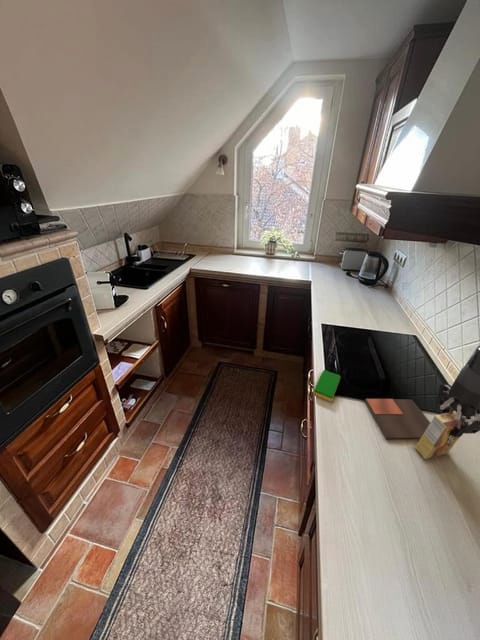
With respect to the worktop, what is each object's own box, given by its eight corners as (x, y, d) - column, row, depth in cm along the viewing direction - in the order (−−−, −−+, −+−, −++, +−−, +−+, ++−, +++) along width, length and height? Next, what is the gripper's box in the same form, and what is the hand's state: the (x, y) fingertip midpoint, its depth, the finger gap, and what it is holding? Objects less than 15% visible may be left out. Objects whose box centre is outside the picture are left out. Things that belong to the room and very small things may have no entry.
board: (410, 401, 96) (412, 398, 95) (440, 439, 82) (442, 437, 81) (364, 400, 95) (364, 398, 95) (386, 439, 81) (387, 437, 81)
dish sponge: (339, 380, 105) (341, 375, 103) (331, 402, 94) (332, 397, 93) (322, 373, 108) (323, 369, 107) (312, 394, 97) (313, 389, 96)
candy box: (436, 441, 81) (458, 408, 73) (448, 454, 78) (472, 420, 70) (414, 447, 79) (433, 414, 71) (425, 460, 76) (447, 427, 68)
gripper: (517, 405, 58) (480, 450, 67) (467, 364, 70) (442, 407, 79) (485, 405, 58) (452, 450, 66) (441, 364, 70) (418, 407, 79)
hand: (447, 427), depth 73 cm, fingers closed on candy box, 4 cm apart
